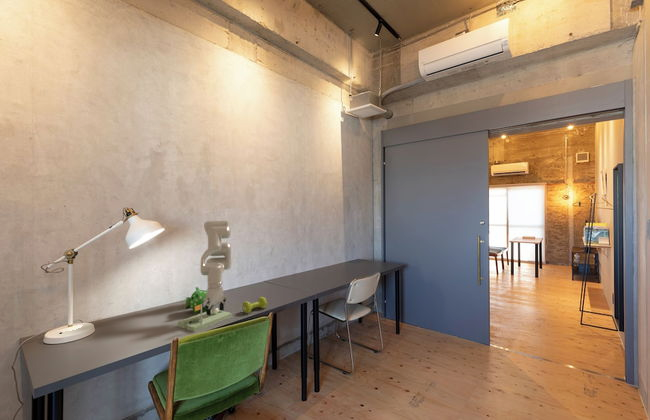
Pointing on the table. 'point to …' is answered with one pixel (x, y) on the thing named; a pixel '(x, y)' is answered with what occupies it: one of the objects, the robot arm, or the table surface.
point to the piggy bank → (197, 300)
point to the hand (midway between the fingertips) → (215, 312)
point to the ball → (215, 310)
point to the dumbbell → (254, 305)
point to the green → (203, 320)
